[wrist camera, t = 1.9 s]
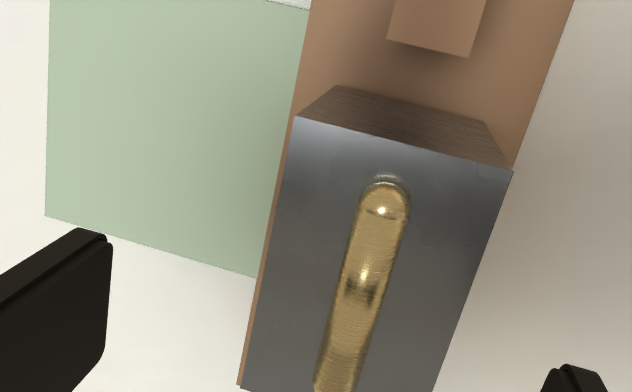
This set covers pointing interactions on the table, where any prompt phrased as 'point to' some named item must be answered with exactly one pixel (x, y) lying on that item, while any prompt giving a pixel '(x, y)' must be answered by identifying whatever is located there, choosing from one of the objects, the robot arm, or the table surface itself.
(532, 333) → the table surface
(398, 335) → the lever cap
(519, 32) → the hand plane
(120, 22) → the mat
